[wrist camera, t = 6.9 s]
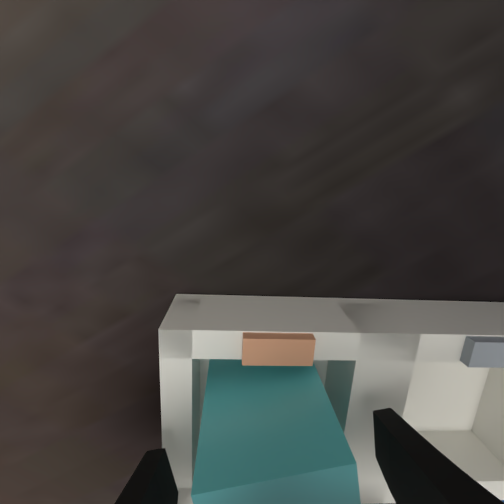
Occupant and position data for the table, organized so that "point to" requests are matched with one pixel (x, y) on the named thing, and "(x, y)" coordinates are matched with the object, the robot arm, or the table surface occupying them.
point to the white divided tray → (348, 372)
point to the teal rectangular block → (271, 439)
